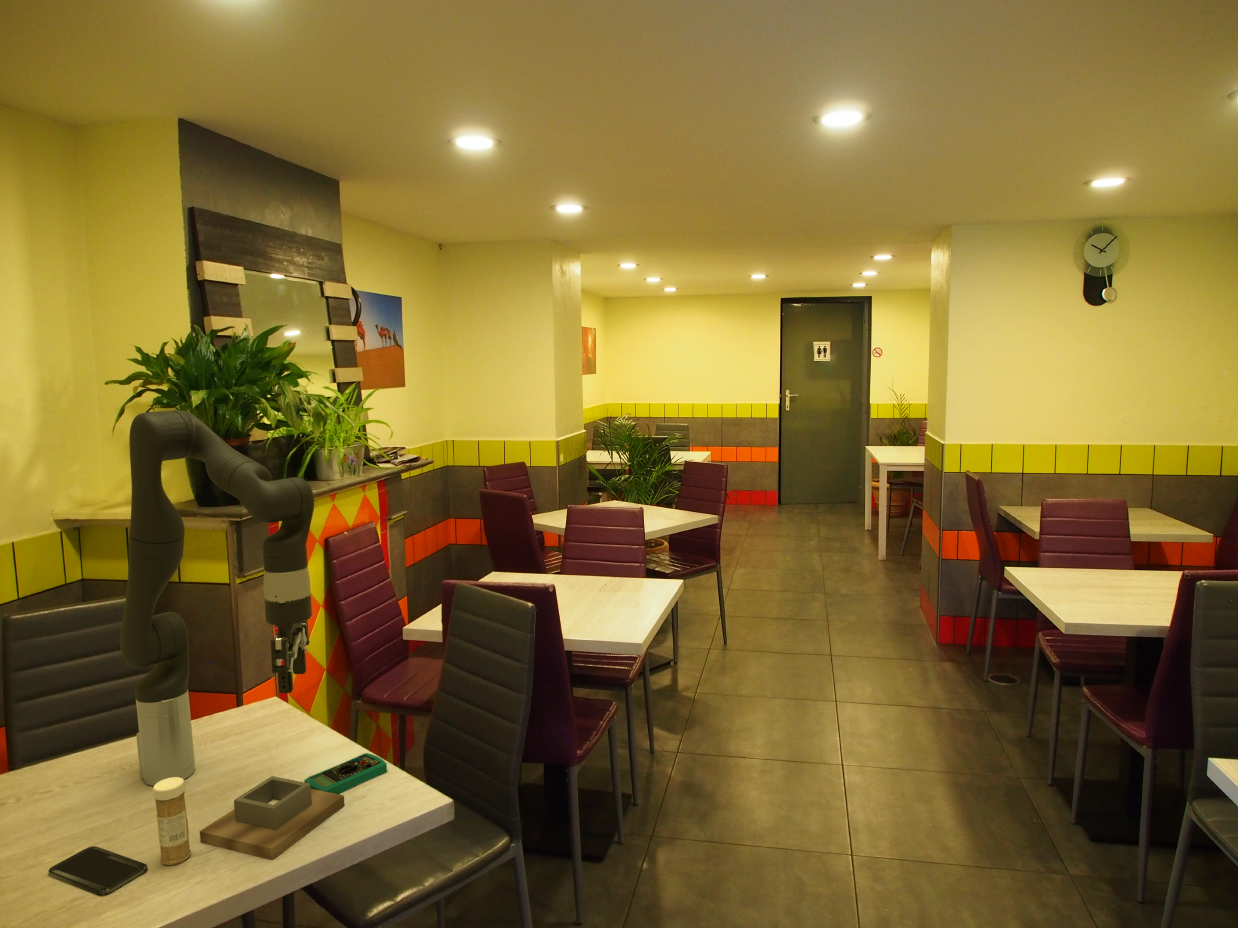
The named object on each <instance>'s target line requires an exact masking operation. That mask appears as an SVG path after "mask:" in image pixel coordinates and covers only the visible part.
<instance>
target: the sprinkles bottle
mask: <svg viewBox="0 0 1238 928" xmlns="http://www.w3.org/2000/svg"><path fill="white" fill-rule="evenodd" d="M152 790H153V791H152V792H153V798H154V801H155V807H156V808H155V809H156V820H157V830H158V831H157V832H158V842H159V845H160V846H159V847H160V862H161V864H163V865H165V866H173V865H177V864H180V863H182V862H185V860H187V859H188V858H190V856H191V854H192V850H191V848H190V847H191V846H190V837H189V835H190V832H189V831H190V830H189V821H188V815H187V806H186V798H185V796H186V795H185V793H186V786H185V779H184V780H183V779H182V778H180V777H172V778H167V779H164V780H161V781H159V782H158V783H156V784H155V785H154V786H153V787H152Z"/></svg>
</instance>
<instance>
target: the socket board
mask: <svg viewBox="0 0 1238 928" xmlns="http://www.w3.org/2000/svg"><path fill="white" fill-rule="evenodd" d="M311 798H312V805H310V806H309V807H308V808H306V809H305V810H303V811H302V812H301V813H299V814H298V815H296V816H295V817H294V818H292V819H291V820H289V821H288V822H287V823H285V824H284V825H282V826H281V827H280V828H278V829H277V830H271V829H267V828H262V827H258V826H254V825H249V824H245V823H241V822H236V821H235V809H234V808H233V809H231V811H228V812H227V813H226V814H224V815H223V816H221V817H220V818H218V819H217V820H215V821H213V822H211V823H210V824H208V825H207V826H205V827H204V828H202V829H201V830H199V838H200V839H199V840H200V843H202V844H207V845H211V846H214V847H215V846H216V847H219V848H223V849H225V850H231V851H235V852H239V853H243V854H245V855H246V854H247V855H250V856H251V855H252V856H256V857H259V858H263V859H267V860H270V861H271V860H272V861H273V860H275V859H276V858H277V857H279V855H281V854H283V853H284V852H285V851H287V850H288V849H289V848H290V847H292V846H293V845H294V844H296V843H297V842H298V841H299V840H301V839H302V838H304V837H305V836H306V835H308V834H309V833H311V831H313V830H314V829H316V828H317V827H318V826H320V825H321V824H322V823H323V822H325V821H326V820H327V819H329V818H330V817H332V816H333V815H334V814H335V813H337V812H338V811H339V810H341V809H342V808H343V807H344V806H345V795H343V794H340V793H339V794H334V793H330V792H325V791H320V790H315V789H311ZM278 801H279V800H272V801H271V802H269V803H268V804H272V805H274V804H275V803H277V802H278Z"/></svg>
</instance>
